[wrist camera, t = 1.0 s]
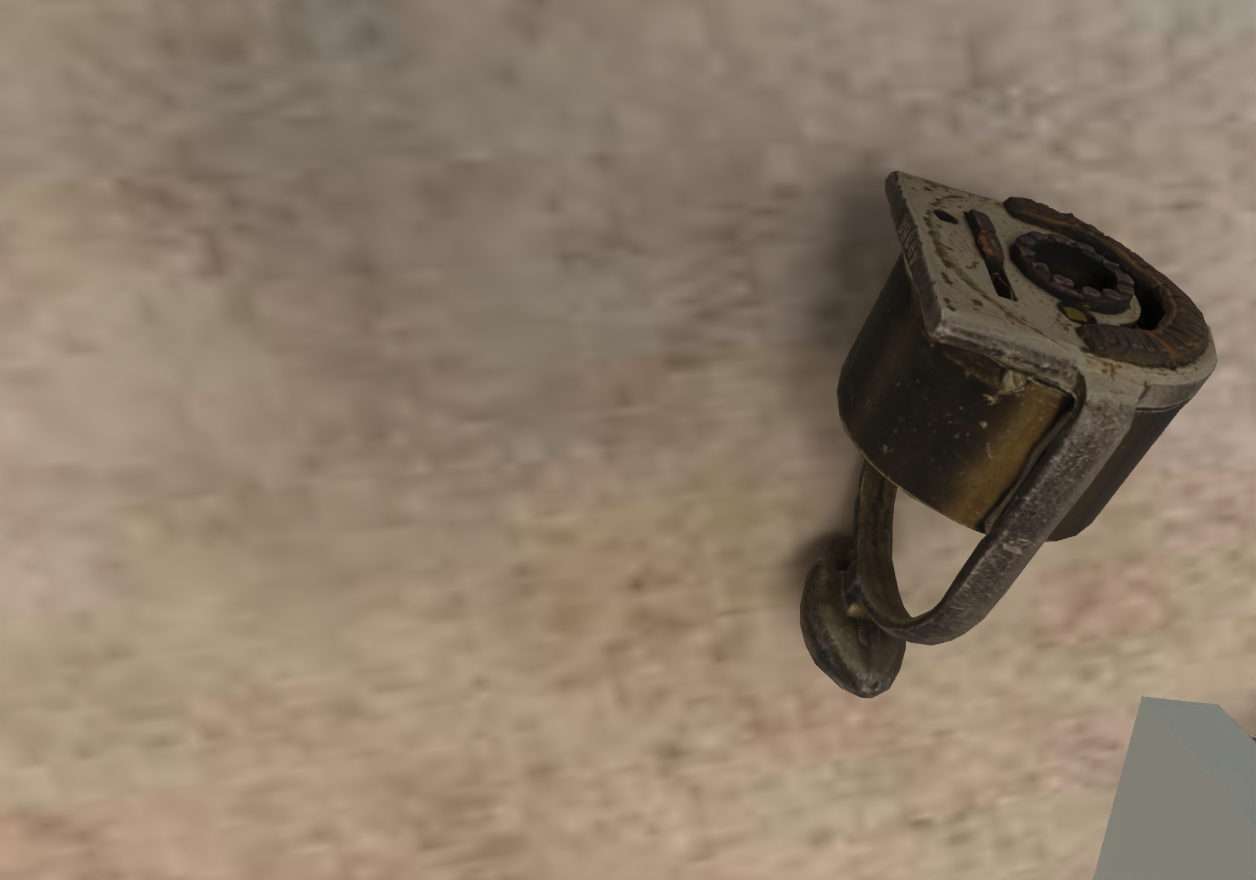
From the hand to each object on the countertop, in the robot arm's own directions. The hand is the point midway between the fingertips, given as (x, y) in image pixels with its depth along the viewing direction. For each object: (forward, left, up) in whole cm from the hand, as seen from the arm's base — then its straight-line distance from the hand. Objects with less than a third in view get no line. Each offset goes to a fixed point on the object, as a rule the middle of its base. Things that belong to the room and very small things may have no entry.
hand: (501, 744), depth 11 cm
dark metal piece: (0, +9, -19) cm, 21 cm away
